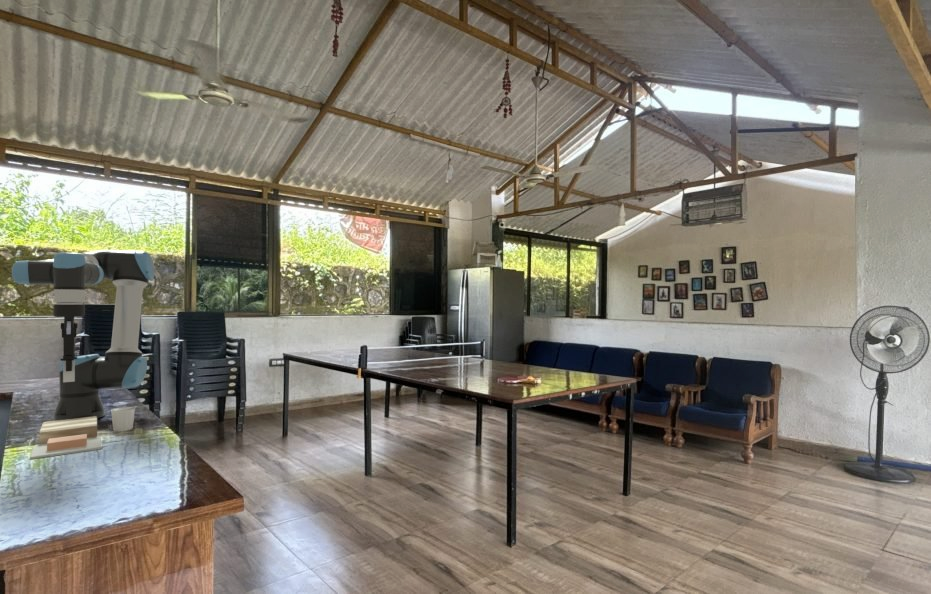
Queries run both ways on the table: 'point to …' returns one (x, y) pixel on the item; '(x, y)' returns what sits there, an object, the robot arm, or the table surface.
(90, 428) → the board
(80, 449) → the grey mat
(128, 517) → the table surface
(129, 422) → the shot glass
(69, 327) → the robot arm
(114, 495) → the table surface
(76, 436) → the terracotta block
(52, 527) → the table surface
